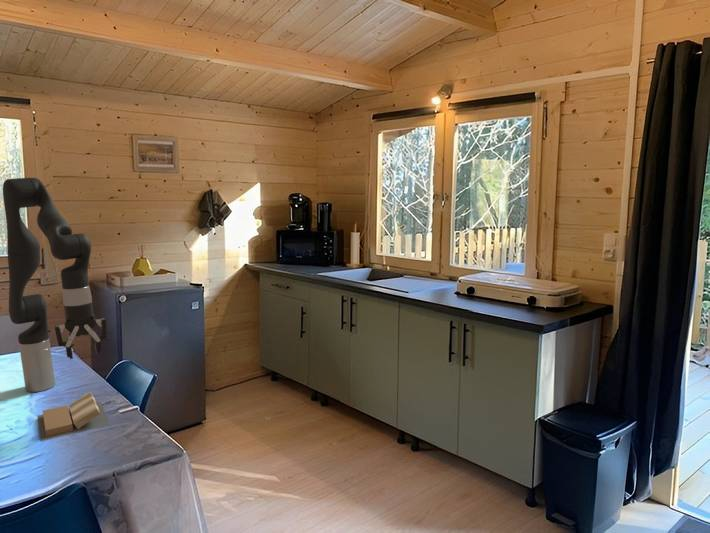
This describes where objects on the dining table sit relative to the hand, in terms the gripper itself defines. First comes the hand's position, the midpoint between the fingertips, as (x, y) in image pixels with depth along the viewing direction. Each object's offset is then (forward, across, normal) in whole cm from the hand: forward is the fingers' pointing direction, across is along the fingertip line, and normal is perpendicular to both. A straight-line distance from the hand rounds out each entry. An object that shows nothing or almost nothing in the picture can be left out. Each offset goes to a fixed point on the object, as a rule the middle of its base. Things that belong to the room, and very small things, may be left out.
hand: (84, 355), depth 167 cm
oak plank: (+18, +1, 0) cm, 18 cm away
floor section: (+20, +5, 0) cm, 20 cm away
